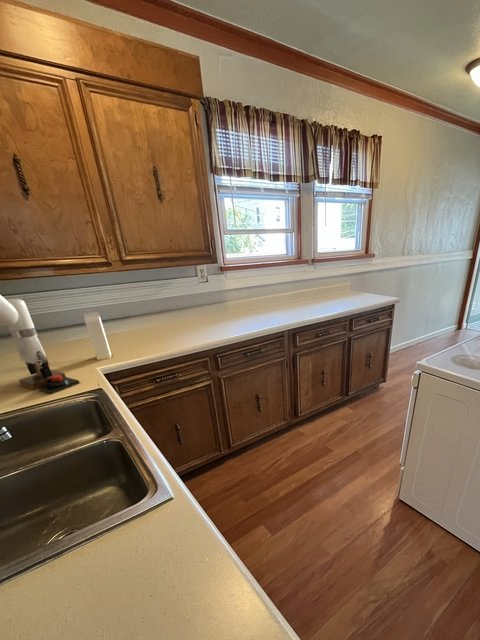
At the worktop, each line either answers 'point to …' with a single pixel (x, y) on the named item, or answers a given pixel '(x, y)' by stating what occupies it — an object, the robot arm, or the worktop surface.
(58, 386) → the button block
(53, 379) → the button
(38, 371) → the brown rectangular block
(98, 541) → the worktop surface
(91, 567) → the worktop surface
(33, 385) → the lock plate
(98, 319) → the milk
